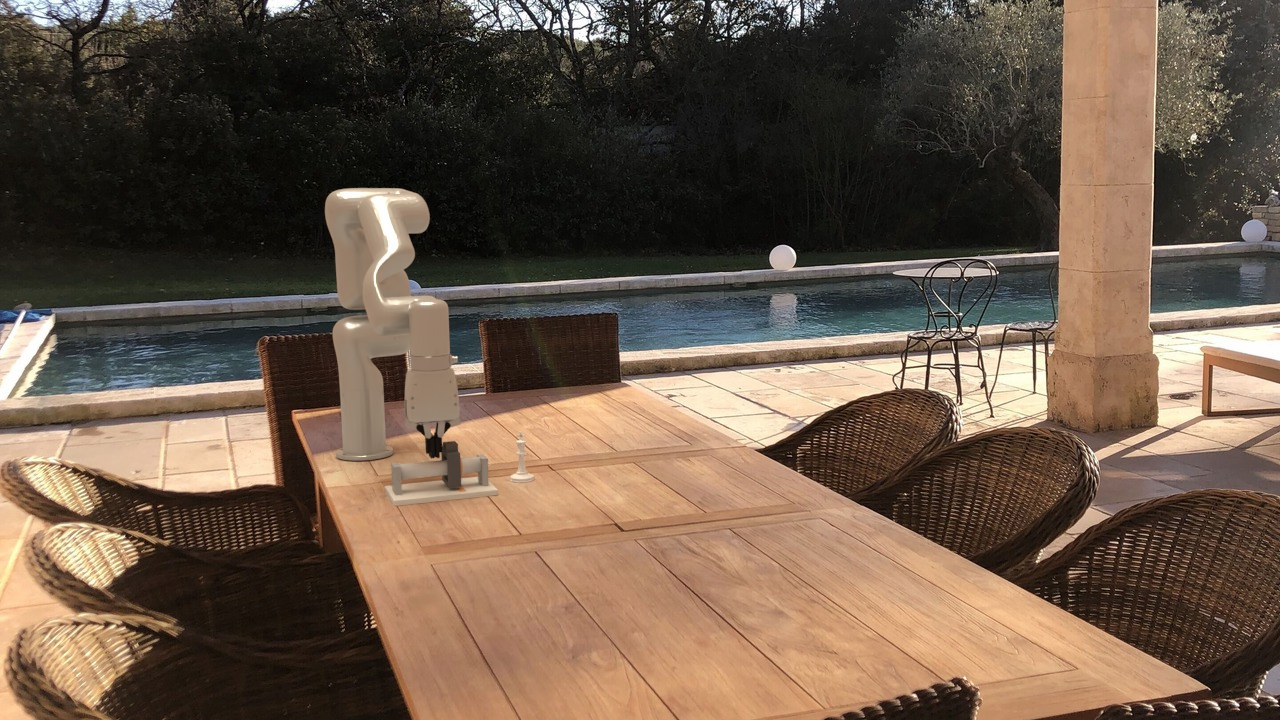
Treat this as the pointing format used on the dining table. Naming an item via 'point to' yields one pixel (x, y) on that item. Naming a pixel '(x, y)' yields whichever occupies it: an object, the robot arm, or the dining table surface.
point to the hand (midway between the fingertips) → (434, 456)
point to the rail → (438, 482)
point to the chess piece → (521, 464)
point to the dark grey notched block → (452, 464)
